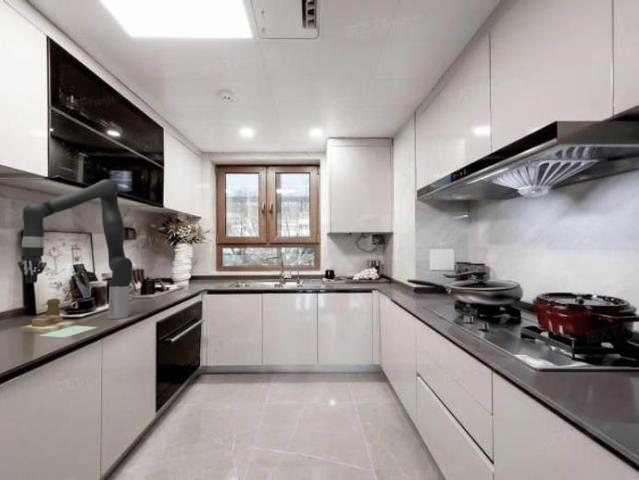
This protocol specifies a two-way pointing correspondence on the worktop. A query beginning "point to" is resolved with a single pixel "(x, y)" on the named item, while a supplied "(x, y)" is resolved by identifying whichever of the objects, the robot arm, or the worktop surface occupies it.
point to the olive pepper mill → (53, 307)
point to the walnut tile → (47, 321)
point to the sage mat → (68, 331)
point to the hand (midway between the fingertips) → (31, 282)
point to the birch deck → (48, 327)
